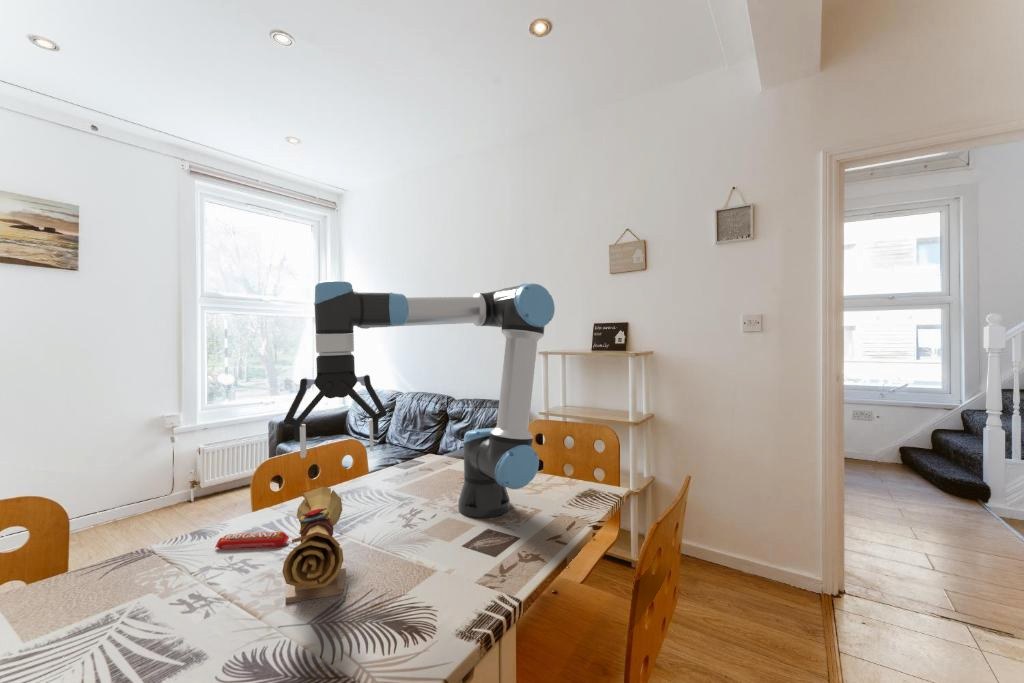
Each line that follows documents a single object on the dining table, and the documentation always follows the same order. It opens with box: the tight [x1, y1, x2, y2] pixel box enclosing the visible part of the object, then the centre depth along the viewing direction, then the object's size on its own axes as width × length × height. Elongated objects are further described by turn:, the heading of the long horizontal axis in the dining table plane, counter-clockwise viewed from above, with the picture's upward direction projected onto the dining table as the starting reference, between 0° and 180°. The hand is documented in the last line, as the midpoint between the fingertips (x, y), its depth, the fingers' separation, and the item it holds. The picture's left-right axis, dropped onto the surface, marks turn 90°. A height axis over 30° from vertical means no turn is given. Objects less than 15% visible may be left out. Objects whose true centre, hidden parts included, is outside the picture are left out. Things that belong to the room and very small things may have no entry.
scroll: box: [281, 486, 344, 589], centre depth 86 cm, size 27×10×10 cm, turn 22°
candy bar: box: [214, 531, 290, 551], centre depth 103 cm, size 16×4×3 cm, turn 96°
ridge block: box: [285, 541, 347, 604], centre depth 86 cm, size 10×8×8 cm
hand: (338, 453), depth 92 cm, fingers open, 13 cm apart
